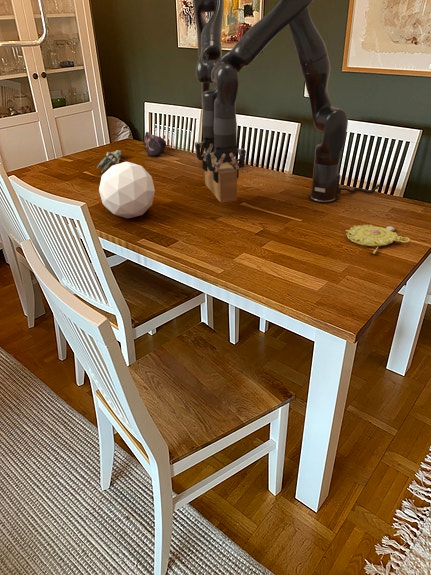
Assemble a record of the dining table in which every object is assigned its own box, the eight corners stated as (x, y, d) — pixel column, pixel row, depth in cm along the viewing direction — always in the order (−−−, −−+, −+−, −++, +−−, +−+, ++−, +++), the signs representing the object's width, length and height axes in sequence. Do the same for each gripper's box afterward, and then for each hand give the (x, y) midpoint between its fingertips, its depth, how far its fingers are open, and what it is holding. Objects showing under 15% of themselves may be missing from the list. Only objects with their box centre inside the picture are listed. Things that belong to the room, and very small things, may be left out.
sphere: (119, 231, 167) (91, 184, 164) (165, 204, 169) (137, 158, 167) (116, 226, 148) (83, 173, 146) (167, 196, 150) (136, 144, 148)
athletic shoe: (152, 146, 217) (175, 145, 222) (140, 122, 229) (162, 121, 233) (150, 166, 226) (172, 164, 230) (139, 141, 238) (160, 140, 242)
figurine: (101, 154, 197) (119, 141, 223) (91, 167, 200) (110, 152, 227) (114, 165, 199) (130, 151, 225) (103, 178, 203) (121, 162, 229)
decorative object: (355, 216, 152) (417, 225, 142) (354, 223, 153) (416, 232, 143) (334, 239, 137) (402, 251, 127) (334, 247, 138) (401, 259, 128)
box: (204, 183, 171) (203, 156, 165) (220, 181, 172) (219, 154, 166) (220, 202, 154) (219, 172, 148) (237, 200, 156) (237, 170, 150)
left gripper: (196, 127, 152) (198, 174, 161) (235, 123, 155) (235, 170, 164) (190, 122, 158) (193, 168, 167) (229, 118, 161) (229, 164, 170)
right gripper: (207, 136, 140) (209, 187, 149) (249, 131, 143) (249, 181, 152) (201, 130, 146) (203, 180, 155) (242, 126, 149) (241, 175, 158)
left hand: (214, 169), depth 165 cm, fingers closed on box, 6 cm apart
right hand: (226, 180), depth 154 cm, fingers closed on box, 6 cm apart
